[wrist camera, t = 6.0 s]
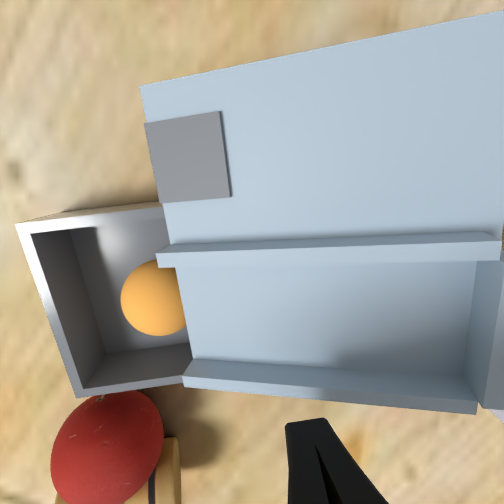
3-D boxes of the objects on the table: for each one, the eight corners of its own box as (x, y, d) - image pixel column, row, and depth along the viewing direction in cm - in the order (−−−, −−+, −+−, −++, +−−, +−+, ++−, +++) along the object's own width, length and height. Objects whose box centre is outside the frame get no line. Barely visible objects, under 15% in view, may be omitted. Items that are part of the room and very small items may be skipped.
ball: (154, 248, 17) (209, 250, 15) (166, 308, 18) (219, 316, 16) (93, 272, 14) (155, 279, 12) (113, 344, 15) (173, 359, 13)
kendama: (209, 519, 25) (186, 372, 18) (188, 633, 20) (141, 487, 12) (127, 509, 26) (73, 364, 19) (84, 617, 21) (-19, 470, 13)
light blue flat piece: (517, 17, 8) (586, -33, 6) (468, 378, 12) (500, 426, 10) (151, 90, 11) (110, 74, 9) (201, 360, 15) (181, 393, 13)
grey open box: (229, 192, 16) (230, 198, 13) (248, 336, 19) (252, 372, 16) (60, 212, 16) (14, 223, 12) (103, 356, 18) (76, 398, 15)
